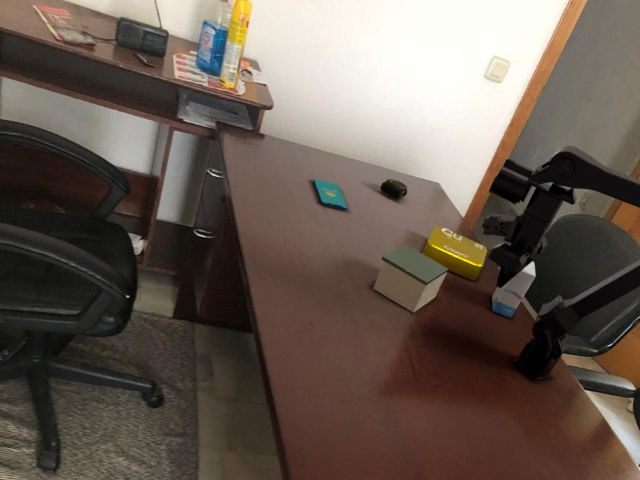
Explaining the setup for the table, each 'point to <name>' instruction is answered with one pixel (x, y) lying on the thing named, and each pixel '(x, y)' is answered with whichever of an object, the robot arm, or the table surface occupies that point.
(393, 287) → the tin
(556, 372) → the table surface
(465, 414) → the table surface
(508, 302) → the ink box
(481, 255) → the element tile
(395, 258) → the lid
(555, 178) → the robot arm
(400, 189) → the tape measure
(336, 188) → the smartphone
